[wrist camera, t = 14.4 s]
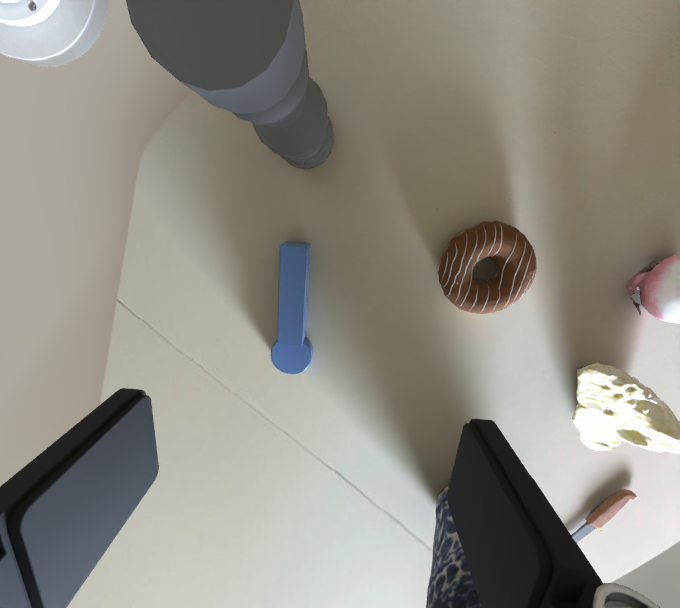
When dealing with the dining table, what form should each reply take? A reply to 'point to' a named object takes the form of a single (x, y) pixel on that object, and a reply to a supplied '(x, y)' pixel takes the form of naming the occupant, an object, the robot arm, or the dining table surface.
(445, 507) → the jug
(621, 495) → the knife
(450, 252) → the donut
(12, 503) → the robot arm
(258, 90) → the candle holder
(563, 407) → the dining table surface
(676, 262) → the onion
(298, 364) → the spoon
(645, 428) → the cheese
